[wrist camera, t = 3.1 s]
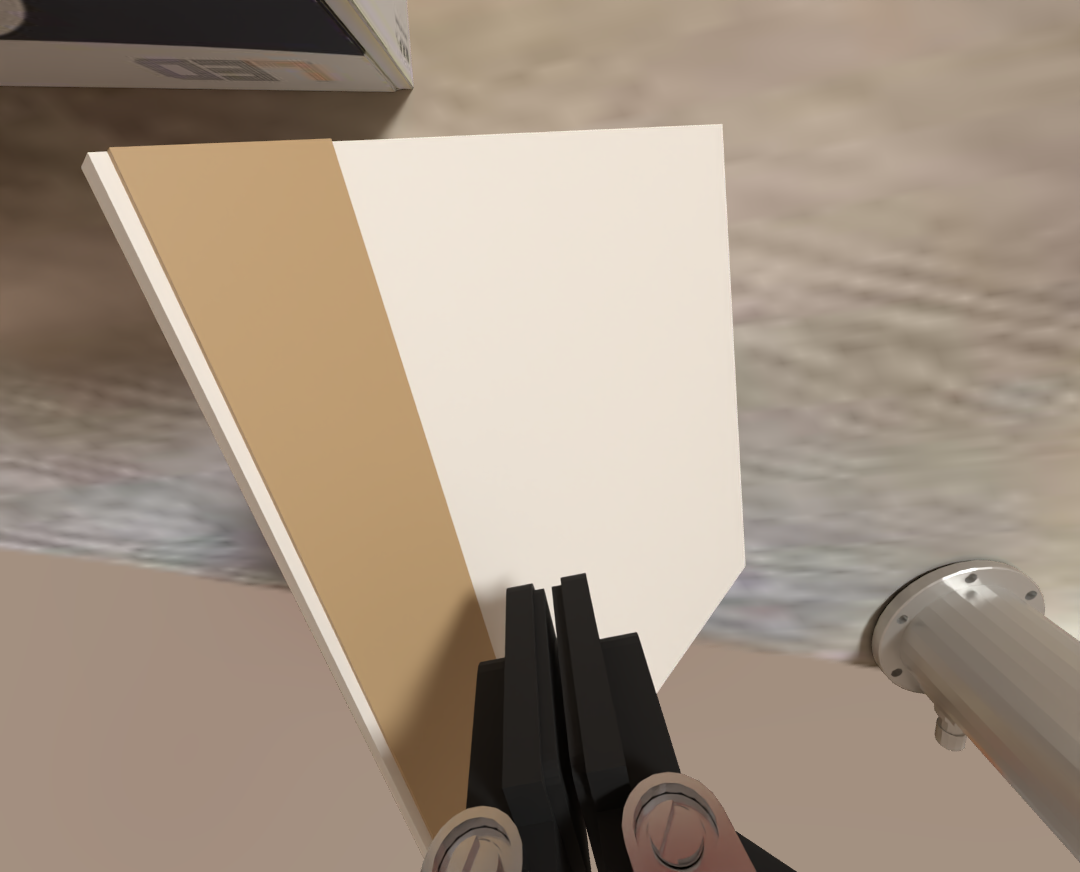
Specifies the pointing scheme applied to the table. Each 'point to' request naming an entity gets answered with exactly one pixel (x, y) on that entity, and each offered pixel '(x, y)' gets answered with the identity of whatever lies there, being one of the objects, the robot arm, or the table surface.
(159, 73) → the packaging
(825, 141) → the table surface
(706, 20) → the table surface
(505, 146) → the lid
